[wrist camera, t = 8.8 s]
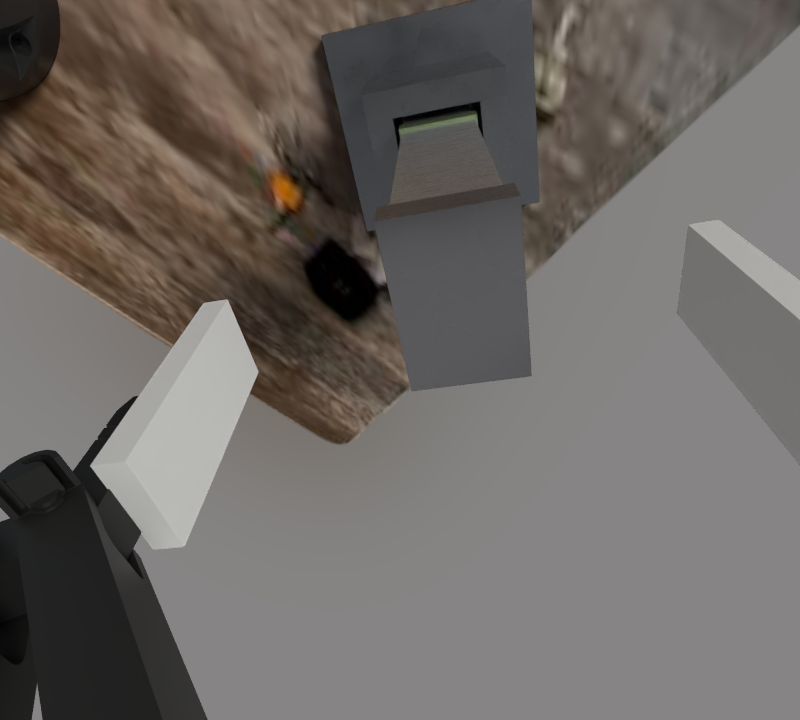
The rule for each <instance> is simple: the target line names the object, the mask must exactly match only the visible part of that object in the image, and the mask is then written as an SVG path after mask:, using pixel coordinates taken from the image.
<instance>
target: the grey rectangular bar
mask: <svg viewBox="0 0 800 720" xmlns="http://www.w3.org/2000/svg"><path fill="white" fill-rule="evenodd" d="M399 135H400V146H399V152H398V157H397V163H396V169H395V175H394V181H393V187H392V193H391V199H390V205H386V206H380V207H377V208H376V213H375V217H374V221H373V222H374V226H375V230H376V235H377V239H378V244H379V248H380V253H381V257H382V262H383V266H384V271H385V275H386V279H387V284H388V288H389V293H390V297H391V302H392V306H393V311H394V315H395V320H396V324H397V328H398V333H399V337H400V342H401V346H402V351H403V355H404V360H405V364H406V369H407V373H408V377H409V382H410V386H411V391H417V390H425V389H432V388H440V387H449V386H456V385H465V384H473V383H481V382H488V381H496V380H504V379H512V378H520V377H527V376H531V358H530V342H529V325H528V307H527V291H526V273H525V256H524V239H523V222H522V205H521V195H520V193H519V191H518V189H517V187H516V185H515V183H510V184H504V185H503V183H502V181H501V179H500V176H499V174H498V172H497V169H496V167H495V165H494V162H493V160H492V158H491V155H490V153H489V151H488V148H487V146H486V144H485V141H484V139H483V136H482V134H481V132H480V129H479V127H478V119H477V113H476V111H475V110H474V111H471V108H470V106H469V104H467V105H462V106H457V107H452V108H447V109H442V110H437V111H432V112H427V113H422V114H417V115H412V116H407V117H404V122H403V125H399Z"/></svg>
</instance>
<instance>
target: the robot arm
mask: <svg viewBox="0 0 800 720" xmlns="http://www.w3.org/2000/svg"><path fill="white" fill-rule="evenodd" d="M59 31H60V21H59V9H58V2H57V0H0V101H3V100H7V99H11V98H15V97H18V96H20V95H23V94H25V93H27V92H29V91H30V90H32V89H33V88H34V87H35V86H37V85H38V84H39V83H40V82H41V81H42V80H43V78H44V77H45V76H46V74H47V73H48V71H49V69H50V68H51V65H52V63H53V61H54V58H55V55H56V51H57V47H58V41H59ZM677 314H678V315H679V316H680V318H681V319H682V320H683V321H684V323H685V324H686V325H687V326H688V328H689V329H690V330H691V331H692V332H693V334H694V335H695V336H696V337H697V339H698V340H699V341H700V342H701V344H702V345H703V346H704V347H705V348H706V350H707V351H708V352H709V354H711V356H712V357H713V358H714V360H715V361H716V362H717V363H718V365H719V366H720V367H721V368H722V369H723V371H724V372H725V373H726V374H727V376H728V377H729V378H730V379H731V381H732V382H733V383H734V384H735V386H736V387H737V388H738V389H739V390H740V392H741V393H742V394H743V395H744V397H745V398H746V399H747V400H748V402H749V403H750V404H751V405H752V406H753V408H754V409H755V410H756V412H757V413H758V414H759V415H760V416H761V418H762V419H763V420H764V421H765V423H766V424H767V425H768V426H769V427H770V429H771V430H772V431H773V432H774V434H775V435H776V436H777V437H778V439H779V440H780V441H781V442H782V444H783V445H784V446H785V447H786V449H787V450H788V451H789V452H790V453H791V455H792V456H793V457H794V458H795V460H796V461H797V462H798V463H799V464H800V280H798V279H797V278H796V277H794V276H793V275H792V274H790V273H789V272H788V271H786V270H785V269H784V268H782V267H781V266H780V265H778V264H777V263H776V262H774V261H773V260H772V259H770V258H769V257H768V256H766V255H765V254H764V253H762V252H761V251H760V250H758V249H757V248H756V247H754V246H753V245H752V244H750V243H749V242H748V241H746V240H745V239H744V238H742V237H741V236H740V235H738V234H737V233H736V232H734V231H733V230H732V229H730V228H729V227H728V226H726V225H725V224H724V223H722V222H721V221H720V220H715V221H709V222H702V223H696V224H690V225H688V232H687V239H686V247H685V255H684V263H683V270H682V278H681V286H680V293H679V301H678V309H677ZM257 375H258V370H257V367H256V365H255V363H254V360H253V358H252V356H251V353H250V351H249V349H248V346H247V344H246V342H245V339H244V337H243V334H242V332H241V330H240V327H239V325H238V323H237V320H236V318H235V316H234V313H233V311H232V309H231V306H230V304H229V302H228V299H226V300H220V301H214V302H207V303H203V305H202V306H201V308H200V309H199V310H198V312H197V313H196V315H195V316H194V318H193V319H192V321H191V322H190V323H189V325H188V326H187V328H186V329H185V331H184V332H183V333H182V335H181V336H180V338H179V339H178V341H177V342H176V343H175V345H174V346H173V348H172V349H171V351H170V352H169V353H168V355H167V356H166V358H165V359H164V361H163V362H162V364H161V365H160V366H159V368H158V369H157V371H156V372H155V373H154V375H153V376H152V378H151V379H150V381H149V382H148V383H147V385H146V386H145V388H144V389H143V391H142V392H141V393H140V395H139V396H135V397H133V398H132V399H130V400H129V401H128V402H127V403H125V404H124V405H123V406H122V407H121V408H119V410H117V411H116V413H115V414H114V415H113V417H112V418H111V420H110V421H109V422H108V424H107V428H104V429H103V431H102V432H101V433H100V435H99V436H98V440H95V442H94V443H93V444H92V446H91V447H90V448H89V450H88V451H87V453H86V454H85V456H84V457H83V458H82V460H81V461H80V462H79V464H78V465H77V467H76V468H75V469H74V470H73V471H72V470H71V469H70V468H69V466H68V465H67V464H66V462H65V461H64V460H63V459H62V457H61V456H60V455H59V454H58V453H57V452H56V451H52V450H43V451H38V452H34V453H32V454H29V455H27V456H25V457H22V458H20V459H19V460H17V461H16V462H14V463H12V464H11V465H9V466H8V467H6V468H5V469H4V470H3V471H2V472H1V473H0V508H1V509H2V510H3V511H4V512H5V513H6V514H7V515H8V516H9V517H10V519H7V520H5V521H1V522H0V720H31V719H32V712H33V706H34V700H35V693H36V686H37V684H38V691H39V697H40V704H41V711H42V718H43V720H207V717H206V715H205V712H204V710H203V708H202V705H201V703H200V700H199V698H198V695H197V693H196V691H195V688H194V686H193V683H192V681H191V679H190V676H189V674H188V671H187V669H186V666H185V664H184V662H183V659H182V657H181V655H180V652H179V650H178V647H177V645H176V642H175V640H174V638H173V635H172V633H171V631H170V628H169V625H168V623H167V621H166V618H165V616H164V614H163V611H162V609H161V606H160V604H159V602H158V599H157V597H156V594H155V592H154V590H153V587H152V585H151V582H150V580H149V577H148V575H147V573H146V570H145V568H144V565H143V563H142V560H141V558H140V557H139V555H138V554H137V553H136V552H135V550H134V549H133V548H134V546H135V544H136V542H137V540H138V538H139V536H140V534H142V536H143V537H144V538H145V540H146V541H147V542H148V544H149V545H150V546H151V548H152V549H153V550H156V549H166V548H176V547H184V546H185V544H186V542H187V539H188V537H189V534H190V532H191V530H192V527H193V525H194V523H195V520H196V518H197V516H198V513H199V511H200V509H201V506H202V504H203V502H204V499H205V497H206V494H207V492H208V490H209V488H210V485H211V483H212V480H213V478H214V476H215V473H216V471H217V469H218V466H219V464H220V462H221V459H222V457H223V454H224V452H225V450H226V448H227V445H228V443H229V440H230V438H231V436H232V433H233V431H234V429H235V426H236V424H237V421H238V419H239V417H240V414H241V412H242V410H243V408H244V405H245V403H246V401H247V398H248V396H249V394H250V391H251V389H252V386H253V384H254V382H255V379H256V377H257Z"/></svg>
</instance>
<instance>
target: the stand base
mask: <svg viewBox="0 0 800 720" xmlns="http://www.w3.org/2000/svg"><path fill="white" fill-rule="evenodd" d="M321 37H322V41H323V45H324V50H325V54H326V58H327V62H328V67H329V71H330V75H331V79H332V84H333V88H334V92H335V97H336V101H337V105H338V109H339V114H340V118H341V122H342V126H343V131H344V135H345V139H346V144H347V148H348V152H349V156H350V161H351V165H352V169H353V173H354V178H355V182H356V186H357V191H358V195H359V199H360V203H361V208H362V212H363V216H364V220H365V225H366V229H367V231H373V230H375V226H374V222H373V221H374V217H375V213H376V208H377V207H380V206H386V205H390V199H391V193H392V187H393V181H394V175H395V169H396V163H397V157H398V152H399V146H400V135H399V125H403V122H404V117H407V116H412V115H417V114H422V113H427V112H432V111H437V110H442V109H447V108H452V107H457V106H462V105H467V104H469V106H470V108H471V111H474V110H475V111H476V113H477V119H478V127H479V129H480V132H481V134H482V136H483V139H484V141H485V144H486V146H487V148H488V151H489V153H490V155H491V158H492V160H493V162H494V165H495V167H496V169H497V172H498V174H499V176H500V179H501V181H502V183H503V185H504V184H510V183H515V185H516V187H517V189H518V191H519V193H520V195H521V205H525V204H531V203H537V202H539V178H538V152H537V127H536V101H535V76H534V50H533V24H532V0H474V1H470V2H465V3H461V4H456V5H452V6H448V7H443V8H439V9H434V10H430V11H426V12H421V13H417V14H412V15H408V16H404V17H399V18H395V19H390V20H386V21H382V22H377V23H373V24H368V25H364V26H360V27H355V28H351V29H346V30H342V31H338V32H333V33H329V34H325V35H322V36H321Z"/></svg>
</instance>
